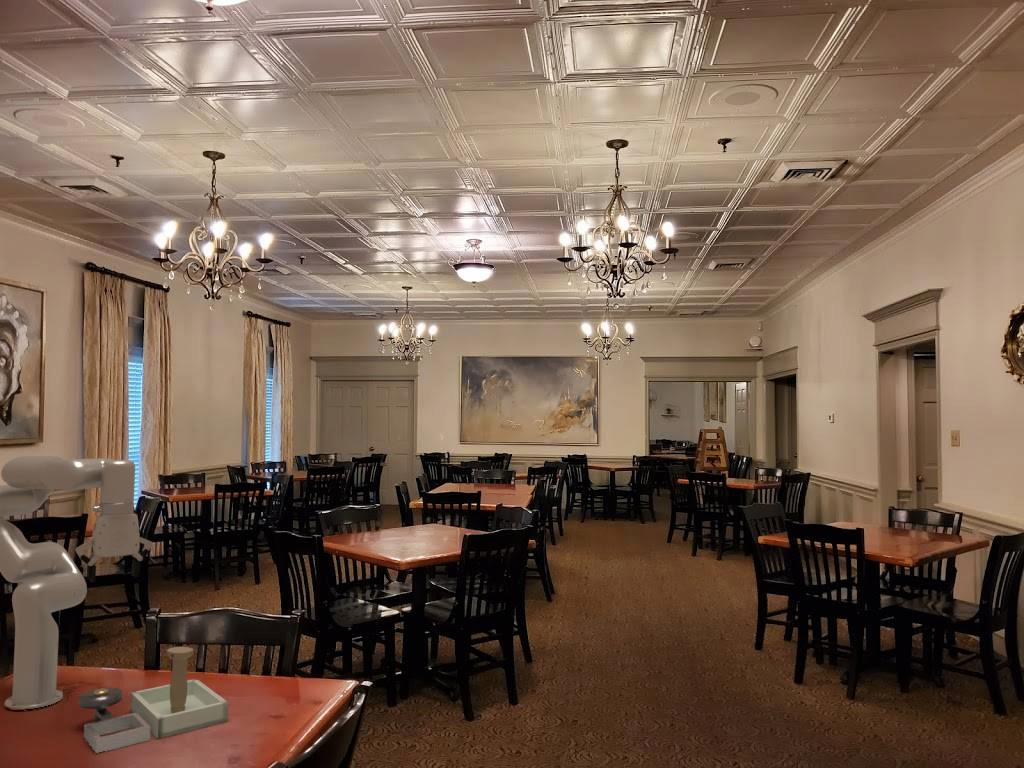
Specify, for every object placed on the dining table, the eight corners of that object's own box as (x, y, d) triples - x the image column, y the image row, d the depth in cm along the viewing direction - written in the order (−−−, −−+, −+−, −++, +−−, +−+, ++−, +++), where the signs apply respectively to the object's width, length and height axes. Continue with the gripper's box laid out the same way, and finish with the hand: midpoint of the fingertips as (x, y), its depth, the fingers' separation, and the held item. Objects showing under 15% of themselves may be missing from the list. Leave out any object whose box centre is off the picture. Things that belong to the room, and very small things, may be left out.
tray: (130, 710, 186) (130, 692, 186) (195, 696, 197) (196, 678, 197) (157, 739, 170) (158, 718, 170) (227, 721, 180) (228, 702, 181)
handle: (179, 717, 180) (182, 654, 181) (160, 713, 182) (162, 650, 183) (195, 710, 184) (197, 648, 185) (175, 706, 187) (178, 645, 188)
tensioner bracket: (73, 724, 177) (75, 689, 178) (124, 713, 185) (125, 679, 185) (95, 753, 162) (97, 715, 162) (149, 740, 169) (151, 703, 169)
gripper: (81, 513, 177) (77, 586, 176) (158, 508, 189) (155, 576, 188) (73, 510, 183) (70, 581, 182) (149, 506, 194) (146, 572, 193)
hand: (113, 578), depth 185 cm, fingers open, 9 cm apart
